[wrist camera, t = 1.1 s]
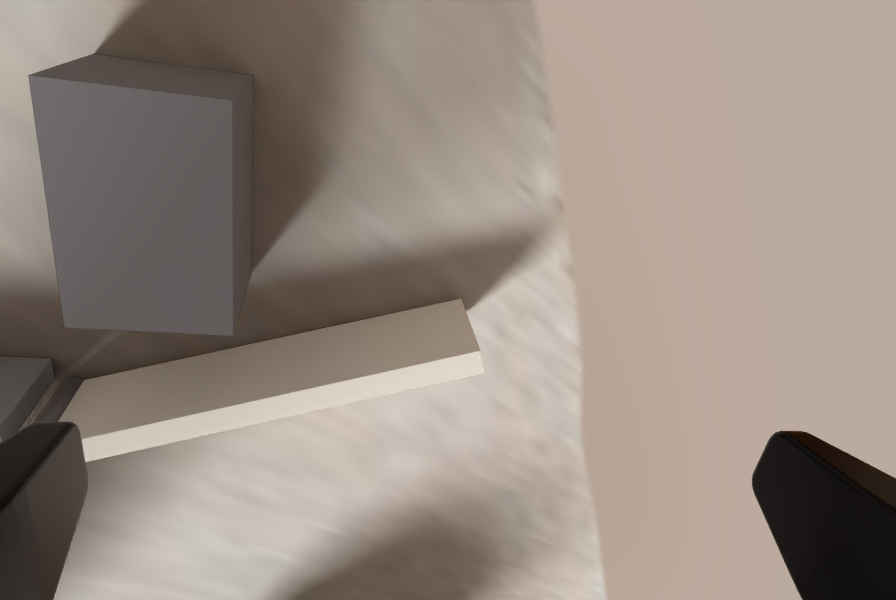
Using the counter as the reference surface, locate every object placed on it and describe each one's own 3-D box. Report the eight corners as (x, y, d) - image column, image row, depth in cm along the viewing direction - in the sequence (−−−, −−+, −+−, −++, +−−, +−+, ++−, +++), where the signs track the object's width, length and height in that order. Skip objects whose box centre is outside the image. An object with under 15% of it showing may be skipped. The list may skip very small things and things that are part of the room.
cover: (68, 404, 21) (15, 487, 17) (53, 380, 20) (-3, 461, 17) (464, 318, 21) (486, 381, 18) (459, 293, 21) (482, 353, 18)
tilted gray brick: (251, 271, 20) (232, 335, 16) (115, 261, 19) (64, 327, 15) (254, 74, 17) (232, 100, 14) (95, 53, 16) (28, 75, 13)
